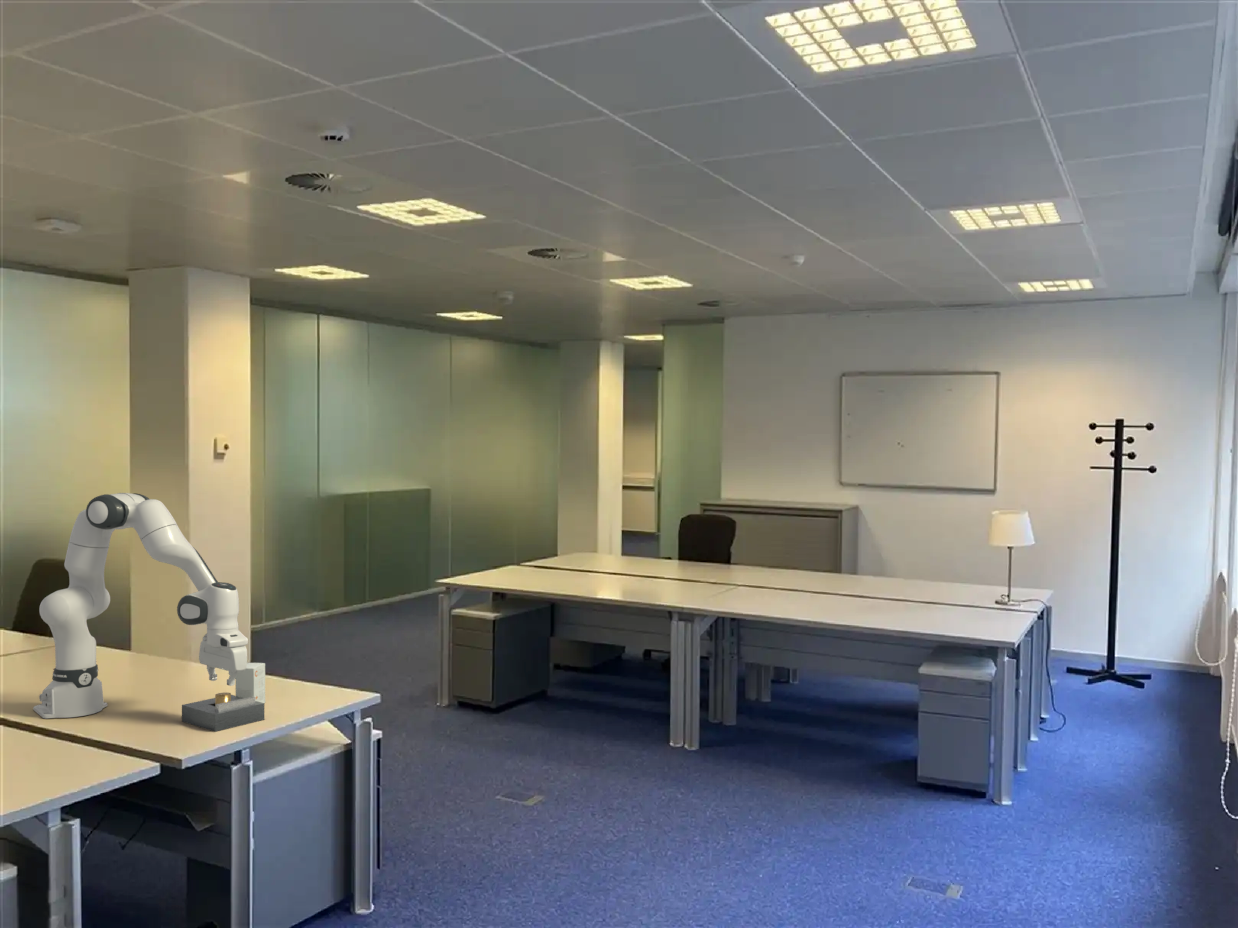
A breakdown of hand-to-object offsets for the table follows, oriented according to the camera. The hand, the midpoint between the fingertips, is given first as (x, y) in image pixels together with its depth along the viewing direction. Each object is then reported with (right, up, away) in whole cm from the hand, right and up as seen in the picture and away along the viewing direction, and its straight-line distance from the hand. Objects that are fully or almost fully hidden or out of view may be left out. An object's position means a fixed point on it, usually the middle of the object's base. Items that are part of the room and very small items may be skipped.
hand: (221, 682), depth 293 cm
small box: (+2, -12, +18) cm, 21 cm away
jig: (0, -11, 0) cm, 11 cm away
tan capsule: (0, -12, 0) cm, 12 cm away
